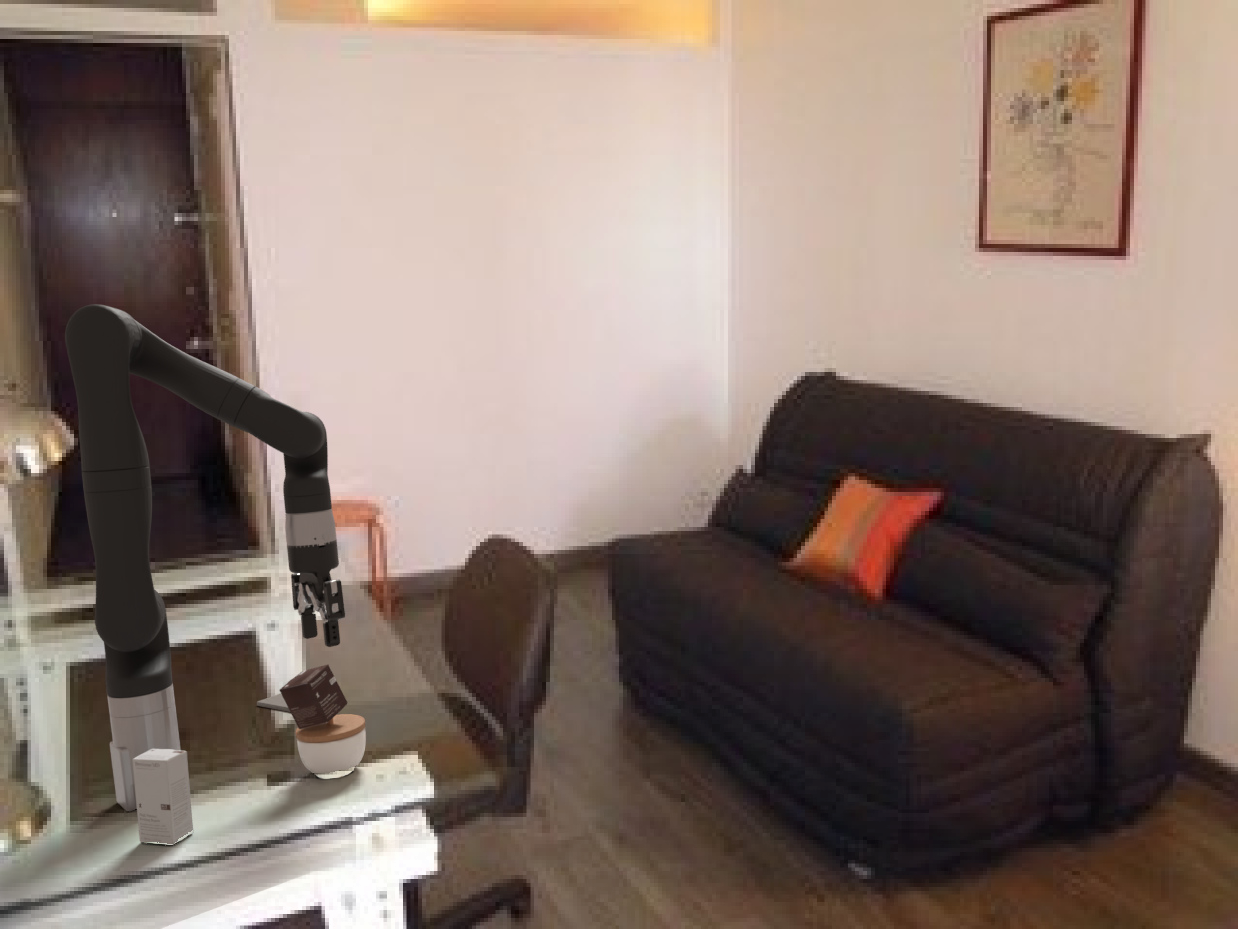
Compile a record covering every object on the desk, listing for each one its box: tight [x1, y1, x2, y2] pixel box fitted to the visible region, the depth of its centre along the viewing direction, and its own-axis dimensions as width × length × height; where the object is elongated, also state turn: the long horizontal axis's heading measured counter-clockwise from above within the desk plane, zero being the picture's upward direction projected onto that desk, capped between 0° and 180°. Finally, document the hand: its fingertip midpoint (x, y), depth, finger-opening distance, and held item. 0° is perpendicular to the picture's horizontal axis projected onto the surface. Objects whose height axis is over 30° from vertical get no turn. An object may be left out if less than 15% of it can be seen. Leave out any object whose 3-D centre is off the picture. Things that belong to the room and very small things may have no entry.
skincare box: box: [132, 749, 194, 844], centre depth 147 cm, size 6×4×12 cm
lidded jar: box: [294, 713, 367, 774], centre depth 168 cm, size 11×11×9 cm
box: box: [279, 664, 348, 729], centre depth 167 cm, size 6×6×7 cm
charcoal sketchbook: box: [256, 693, 291, 713], centre depth 209 cm, size 10×14×1 cm
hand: (321, 641), depth 167 cm, fingers open, 8 cm apart
